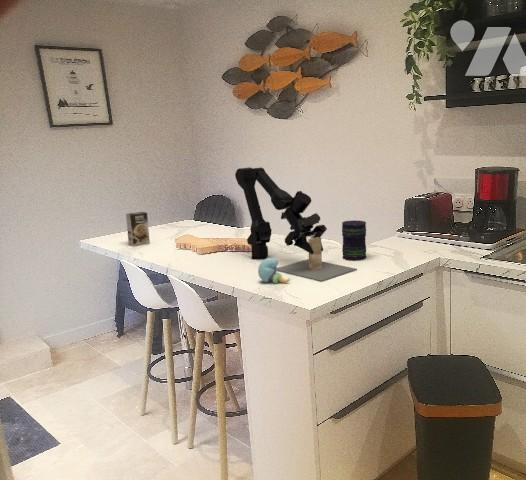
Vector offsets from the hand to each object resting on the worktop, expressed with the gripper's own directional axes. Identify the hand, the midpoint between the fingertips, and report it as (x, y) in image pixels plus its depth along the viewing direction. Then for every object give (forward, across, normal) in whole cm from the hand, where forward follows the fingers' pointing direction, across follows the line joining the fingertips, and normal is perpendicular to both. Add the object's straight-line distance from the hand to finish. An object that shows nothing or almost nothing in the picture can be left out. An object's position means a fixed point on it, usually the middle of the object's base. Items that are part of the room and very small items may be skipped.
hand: (317, 252), depth 194 cm
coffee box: (-69, -20, +80) cm, 107 cm away
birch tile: (+4, 0, +6) cm, 7 cm away
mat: (+4, 0, +6) cm, 8 cm away
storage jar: (+4, +24, +7) cm, 25 cm away
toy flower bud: (+4, -21, +7) cm, 22 cm away
